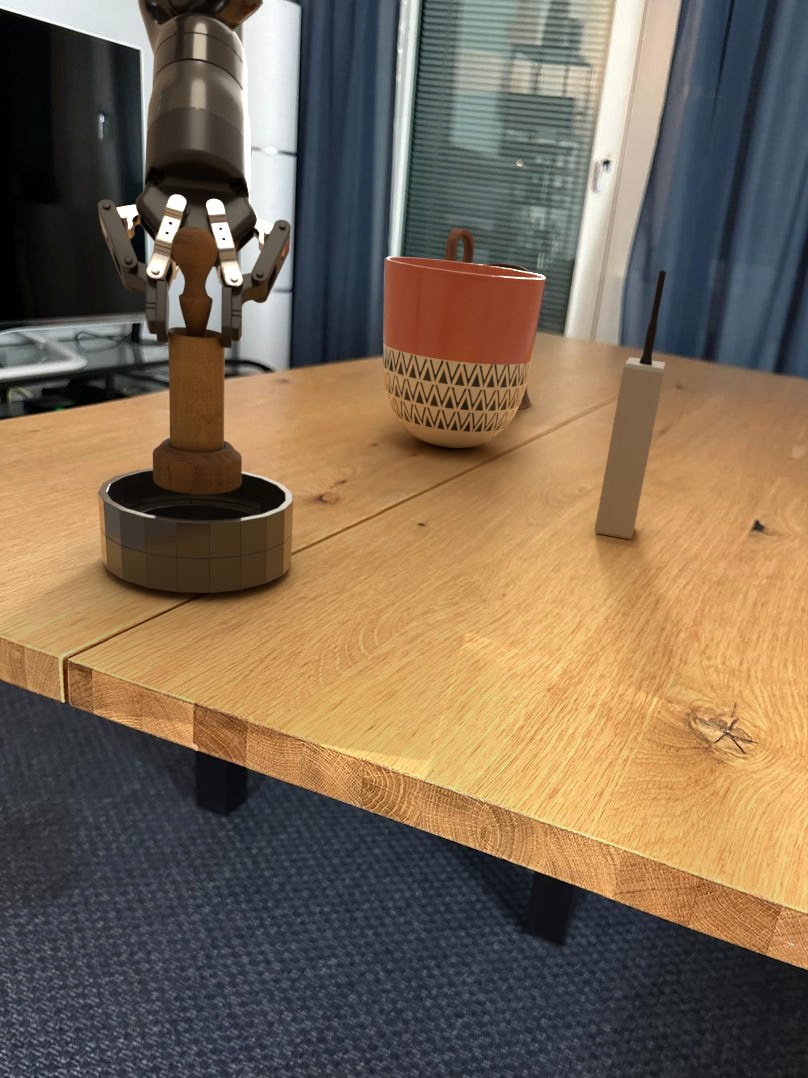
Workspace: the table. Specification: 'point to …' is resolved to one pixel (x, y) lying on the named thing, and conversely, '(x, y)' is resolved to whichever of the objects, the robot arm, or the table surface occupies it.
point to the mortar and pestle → (196, 384)
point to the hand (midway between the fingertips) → (194, 337)
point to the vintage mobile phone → (631, 435)
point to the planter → (457, 346)
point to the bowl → (195, 534)
